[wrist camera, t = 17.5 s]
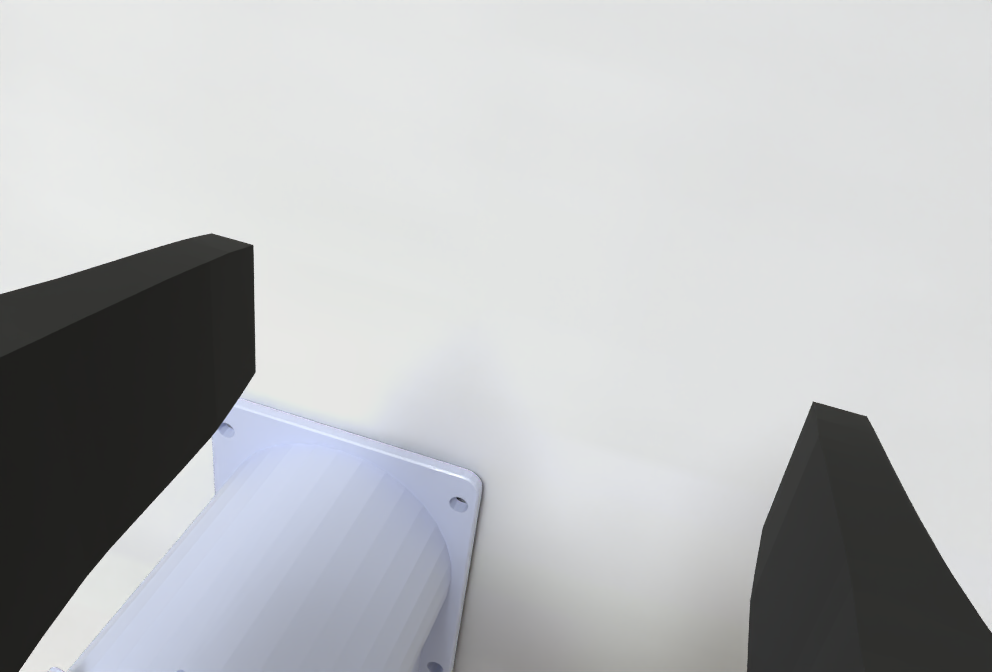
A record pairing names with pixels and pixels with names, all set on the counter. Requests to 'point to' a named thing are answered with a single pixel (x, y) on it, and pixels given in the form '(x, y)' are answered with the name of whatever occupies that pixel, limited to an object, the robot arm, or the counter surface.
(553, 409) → the counter surface
